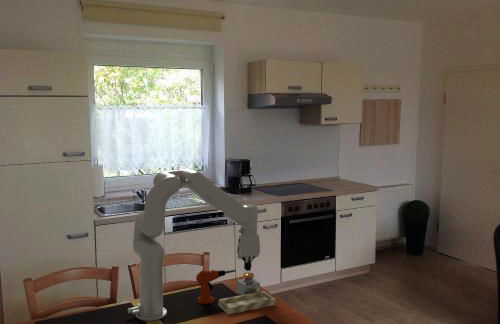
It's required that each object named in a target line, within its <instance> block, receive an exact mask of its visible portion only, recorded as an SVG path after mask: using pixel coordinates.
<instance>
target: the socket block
mask: <svg viewBox="0 0 500 324" xmlns="http://www.w3.org/2000/svg"><path fill="white" fill-rule="evenodd" d="M237 292H238V293H239V296H241V295H246V294H252V293H257V292H261V283H260V282H259V281H258V280H257V279H255V278H254V277H253V278H252V283H248V284H246V283H245V278H242V279H237V280H236V293H237ZM238 293H237V294H238Z"/></svg>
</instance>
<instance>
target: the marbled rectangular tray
mask: <svg viewBox="0 0 500 324" xmlns="http://www.w3.org/2000/svg"><path fill="white" fill-rule="evenodd" d="M218 306H219V308H221V310H223V312H225V313H226V314H227V315H231V314H237V313H242V312H246V311H247V312H248V311H251V310H253V311H254V310H257V309H262V308H267V307H271V306H272V307H273V306H276V298H275V297H273V296H272V295H270V294H269V293H268V292H266V291H260V292H257V293H252V294H246V295H235V296H230V297H225V298H219V299H218Z"/></svg>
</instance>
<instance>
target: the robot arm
mask: <svg viewBox="0 0 500 324" xmlns="http://www.w3.org/2000/svg"><path fill="white" fill-rule="evenodd" d="M152 184H153V186H152V187H151V189H150V190H149V191H148V193H147V195H146V198H145V201H144V203H145V204H144V210H143V211H142V212H140V213H139V214H138V215H137V216H136V218H135V221H134V229H133V239H132V248H133V252H134V254H135V255H136V257H138V258H139V259H140V266H139V273H138V274H139V279H138V280H139V303H137V305H136V306H135V307H128V308H127V313H128V314H132V315H135V317H136V318H137V319H138V320H141V321H145V322H146V321H149V322H152V321H157V320H160V319H163V318H165V317H166V316H167V313H168V311H167V309H166V308H165V307H164V276H163V275H164V262H165V249H164V247H163V245H162V244H161V243H160V242H159V241H157V240H156V238H159V237H160V236H161V235H162V234H163V232H164V228H165V217H166V208H167V204H168V201H169V200H170V199H171V197H172V196H174V195H175V194H177V193H178V192H179V191H180V189H187V190H188V189H189V191H191V192H192V193H193V194H195V195H196V196H197V197H199V198H200V199H201V200H202V201H204V202H205V203H206V204H207V205H209V206H211V207H213V208H214V209H216V210H218V211H220V212H222V213H223V216H224V218H225V219H226V220H227V221H229V222H232V223H235V224H237V225H240V229H238V231H237V232H238V233H240V234H239V236H238V239H237V247H236V253H237V257H236V258H237V259H238V260H242V262H243V263H244V264H243V269H244V270H245V272H251V271H252V270H251V269H252V262H253V261H254V259H256V258H258V257H259V255H260V253H261V243H260V235H259V233H258V213H259V208H258V206H257V205H255V204H244V205H243V204H241V202H239V201H237V200H236V199H235V198H234V197H232V196H231V195H229V194H228V193H226V192H225V191H224V190H222V189H221V188H220V187H218V186H216V184H215V183H214V182H212V181H211V180H210V179H209V178H208V177H206V176H205V175H204V174H203V173H201V172H200V171H198V170H194V169H190V168H189V169H187V168H186V169H179V170H178V169H176V170H175V169H174V170H167V171H160V172H158V173H156V174H155V176H154V177H153V179H152Z"/></svg>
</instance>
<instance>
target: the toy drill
mask: <svg viewBox="0 0 500 324" xmlns="http://www.w3.org/2000/svg"><path fill="white" fill-rule="evenodd" d="M234 272H236V269H231V270H225V269H224V270H223V269H222V270H215V269H211V270H200V271H199V272H198V273H197V274H196V275H195V276H196V277H195V281H196V282H197V283H198V284H199V285H200V294H199V295H200V296H198V297H197V304H200V305H205V304H207V305H208V303H209V304H213V303H214V302H215V297H213V296H211V291H212V290H213V288H214V287H213V285H212V284H211V282H213V281H215V280H217V279H218V278H221V277H224V276H225V275H226V274H229V273H231V274H232V273H234Z"/></svg>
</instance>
